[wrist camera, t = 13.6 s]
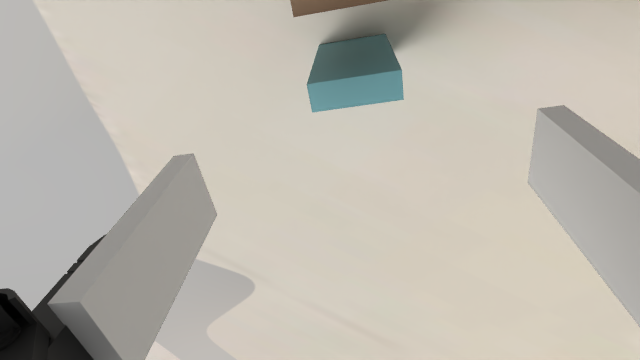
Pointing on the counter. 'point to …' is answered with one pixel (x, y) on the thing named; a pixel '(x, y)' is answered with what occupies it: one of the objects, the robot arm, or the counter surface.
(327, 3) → the domino
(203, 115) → the counter surface
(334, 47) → the domino
